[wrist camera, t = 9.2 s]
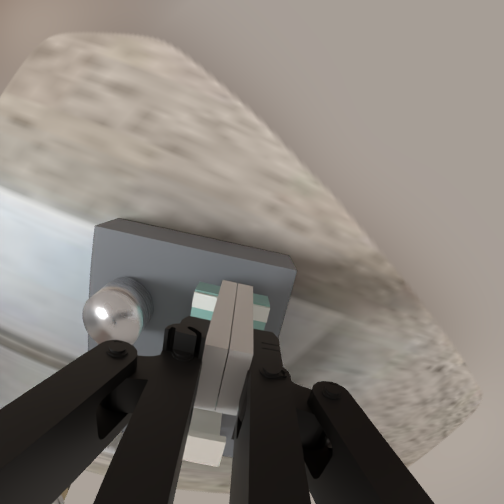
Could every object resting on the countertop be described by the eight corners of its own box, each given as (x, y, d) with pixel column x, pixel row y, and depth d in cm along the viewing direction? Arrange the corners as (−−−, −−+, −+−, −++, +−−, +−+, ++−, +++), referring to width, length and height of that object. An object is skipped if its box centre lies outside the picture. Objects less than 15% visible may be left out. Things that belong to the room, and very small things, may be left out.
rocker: (181, 383, 19) (176, 400, 17) (199, 281, 18) (194, 290, 16) (242, 395, 20) (242, 413, 18) (267, 296, 19) (270, 306, 17)
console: (107, 395, 26) (88, 426, 22) (118, 218, 23) (89, 227, 18) (240, 428, 27) (239, 465, 22) (289, 255, 23) (298, 274, 19)
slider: (181, 425, 22) (173, 457, 18) (185, 399, 21) (176, 432, 18) (222, 433, 22) (218, 467, 18) (228, 408, 21) (225, 442, 18)
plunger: (101, 320, 20) (82, 340, 17) (104, 271, 19) (83, 285, 16) (150, 334, 20) (136, 357, 17) (156, 284, 19) (141, 302, 16)
